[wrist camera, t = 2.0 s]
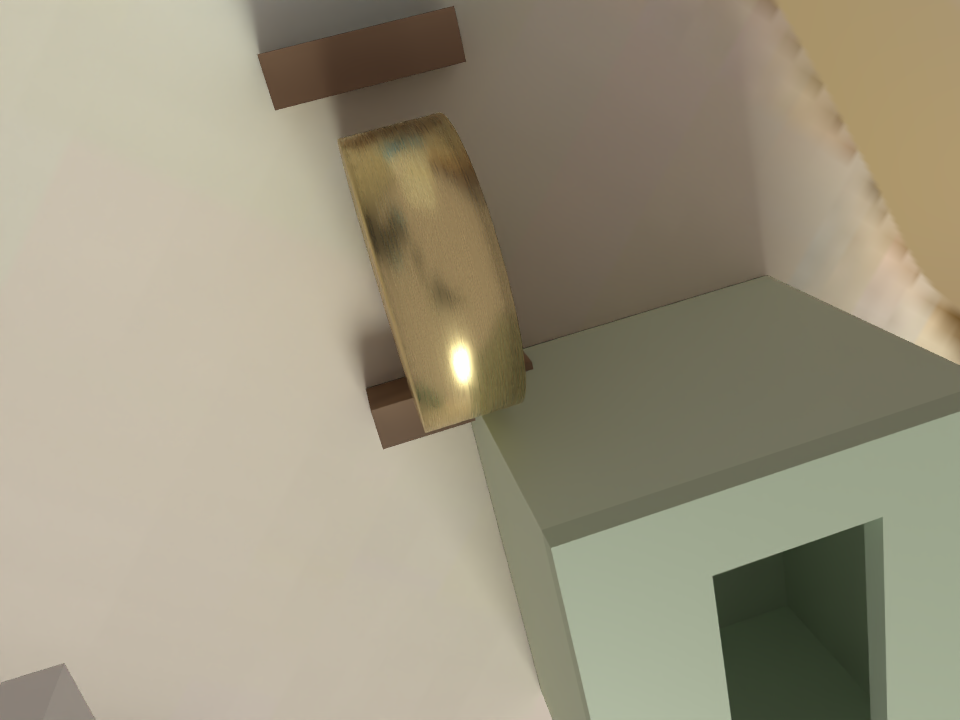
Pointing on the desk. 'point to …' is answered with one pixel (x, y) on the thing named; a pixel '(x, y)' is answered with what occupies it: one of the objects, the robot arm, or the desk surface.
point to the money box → (735, 514)
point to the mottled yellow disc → (437, 269)
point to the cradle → (354, 67)
